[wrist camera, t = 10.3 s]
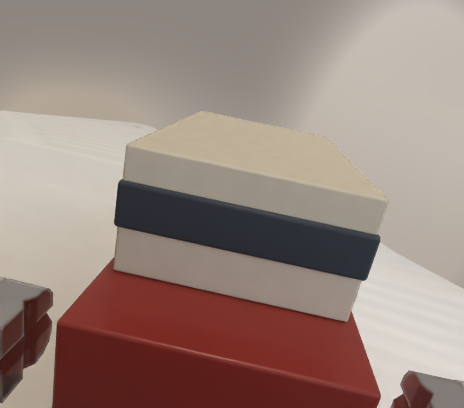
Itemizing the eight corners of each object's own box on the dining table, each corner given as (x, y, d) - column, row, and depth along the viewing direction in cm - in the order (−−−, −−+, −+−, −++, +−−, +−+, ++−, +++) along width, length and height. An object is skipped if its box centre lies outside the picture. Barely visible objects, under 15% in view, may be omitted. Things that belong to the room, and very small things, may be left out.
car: (284, 661, 8) (462, 246, 5) (30, 597, 8) (48, 156, 5) (275, 306, 20) (324, 127, 17) (175, 284, 20) (206, 102, 17)
